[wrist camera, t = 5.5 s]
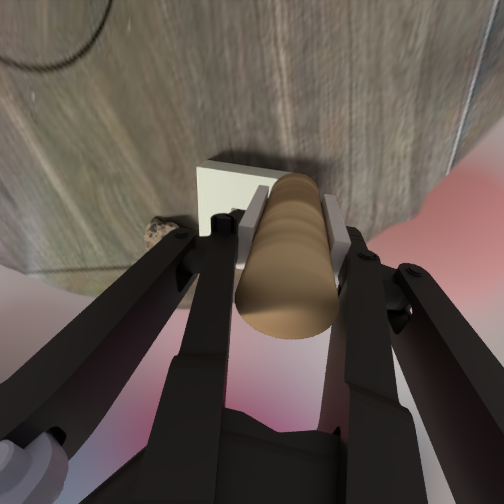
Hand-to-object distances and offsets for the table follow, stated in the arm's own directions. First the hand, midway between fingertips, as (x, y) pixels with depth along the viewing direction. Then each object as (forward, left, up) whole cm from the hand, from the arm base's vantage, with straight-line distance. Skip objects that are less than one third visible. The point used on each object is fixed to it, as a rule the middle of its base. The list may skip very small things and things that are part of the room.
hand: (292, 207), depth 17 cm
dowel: (0, 0, -2) cm, 2 cm away
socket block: (+11, -6, -21) cm, 24 cm away
